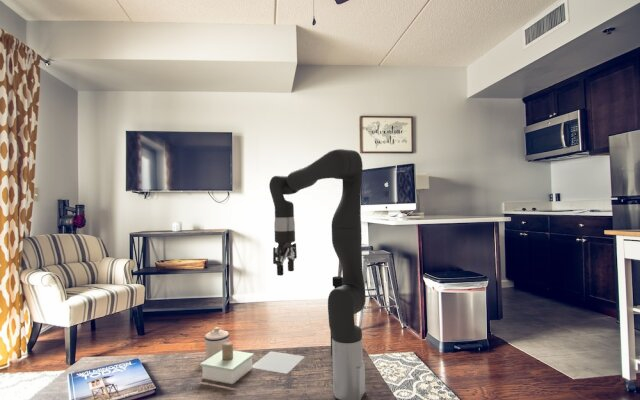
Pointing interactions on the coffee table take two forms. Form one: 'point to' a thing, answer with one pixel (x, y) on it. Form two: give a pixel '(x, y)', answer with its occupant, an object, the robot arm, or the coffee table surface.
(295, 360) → the mat
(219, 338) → the teacup with lid
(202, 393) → the coffee table surface
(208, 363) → the lid
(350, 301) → the robot arm
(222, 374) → the dish
